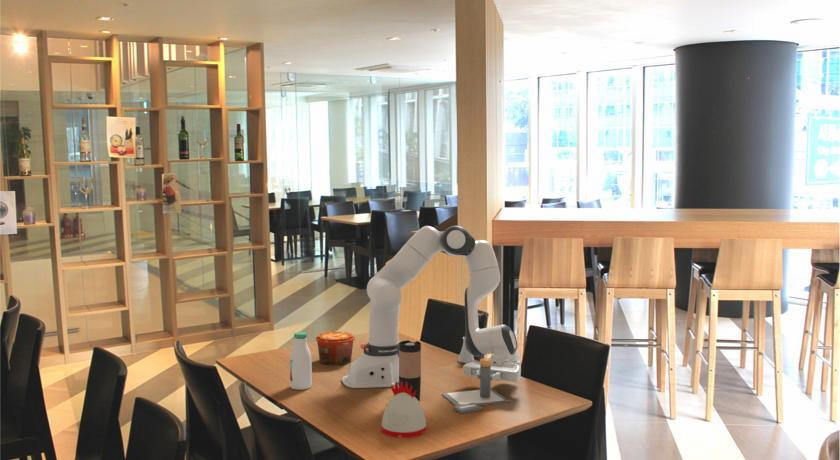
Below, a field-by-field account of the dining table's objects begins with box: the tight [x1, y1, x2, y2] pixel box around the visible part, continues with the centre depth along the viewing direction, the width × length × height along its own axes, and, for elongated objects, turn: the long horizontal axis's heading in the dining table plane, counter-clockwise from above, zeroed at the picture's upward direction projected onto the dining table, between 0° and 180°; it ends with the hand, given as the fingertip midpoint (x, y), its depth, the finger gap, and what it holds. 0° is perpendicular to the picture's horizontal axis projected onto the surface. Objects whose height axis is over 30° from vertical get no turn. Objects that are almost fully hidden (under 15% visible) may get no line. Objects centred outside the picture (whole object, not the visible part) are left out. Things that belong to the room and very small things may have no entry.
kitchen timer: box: [380, 382, 427, 439], centre depth 236 cm, size 14×14×15 cm
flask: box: [457, 336, 476, 364], centre depth 315 cm, size 7×7×10 cm
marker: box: [479, 357, 492, 398], centre depth 263 cm, size 4×4×13 cm
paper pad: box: [441, 388, 510, 406], centre depth 267 cm, size 19×15×1 cm
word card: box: [453, 403, 483, 414], centre depth 255 cm, size 8×5×1 cm, turn 119°
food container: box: [315, 331, 356, 366], centre depth 314 cm, size 16×16×11 cm
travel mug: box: [398, 340, 422, 402], centre depth 264 cm, size 8×8×20 cm
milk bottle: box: [289, 331, 313, 391], centre depth 278 cm, size 8×8×20 cm
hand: (484, 377), depth 263 cm, fingers closed on marker, 4 cm apart
